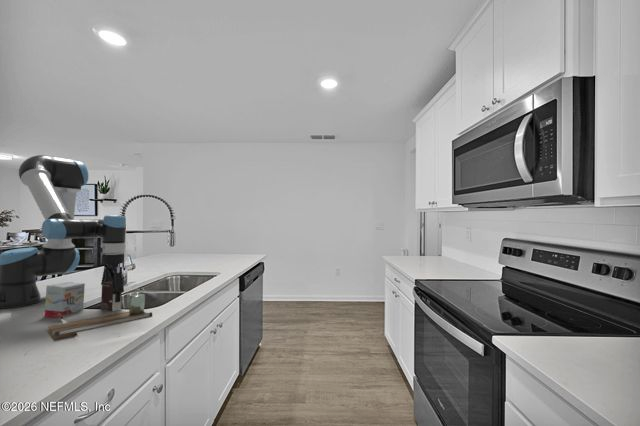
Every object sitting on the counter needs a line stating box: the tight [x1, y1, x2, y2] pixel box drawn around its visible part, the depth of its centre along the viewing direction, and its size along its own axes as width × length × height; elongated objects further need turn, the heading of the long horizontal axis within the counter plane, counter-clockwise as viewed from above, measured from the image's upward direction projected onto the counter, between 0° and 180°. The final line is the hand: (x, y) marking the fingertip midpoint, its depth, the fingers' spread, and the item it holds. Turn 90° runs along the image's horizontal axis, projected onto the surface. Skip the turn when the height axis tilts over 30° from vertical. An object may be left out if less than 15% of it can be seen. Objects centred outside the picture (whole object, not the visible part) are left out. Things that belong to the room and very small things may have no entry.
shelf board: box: [47, 311, 153, 341], centre depth 108 cm, size 12×28×2 cm, turn 139°
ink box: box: [44, 281, 86, 319], centre depth 118 cm, size 9×9×12 cm
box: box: [100, 281, 123, 312], centre depth 122 cm, size 6×4×12 cm
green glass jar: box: [128, 293, 146, 316], centre depth 118 cm, size 5×5×7 cm
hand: (111, 306), depth 122 cm, fingers open, 13 cm apart
